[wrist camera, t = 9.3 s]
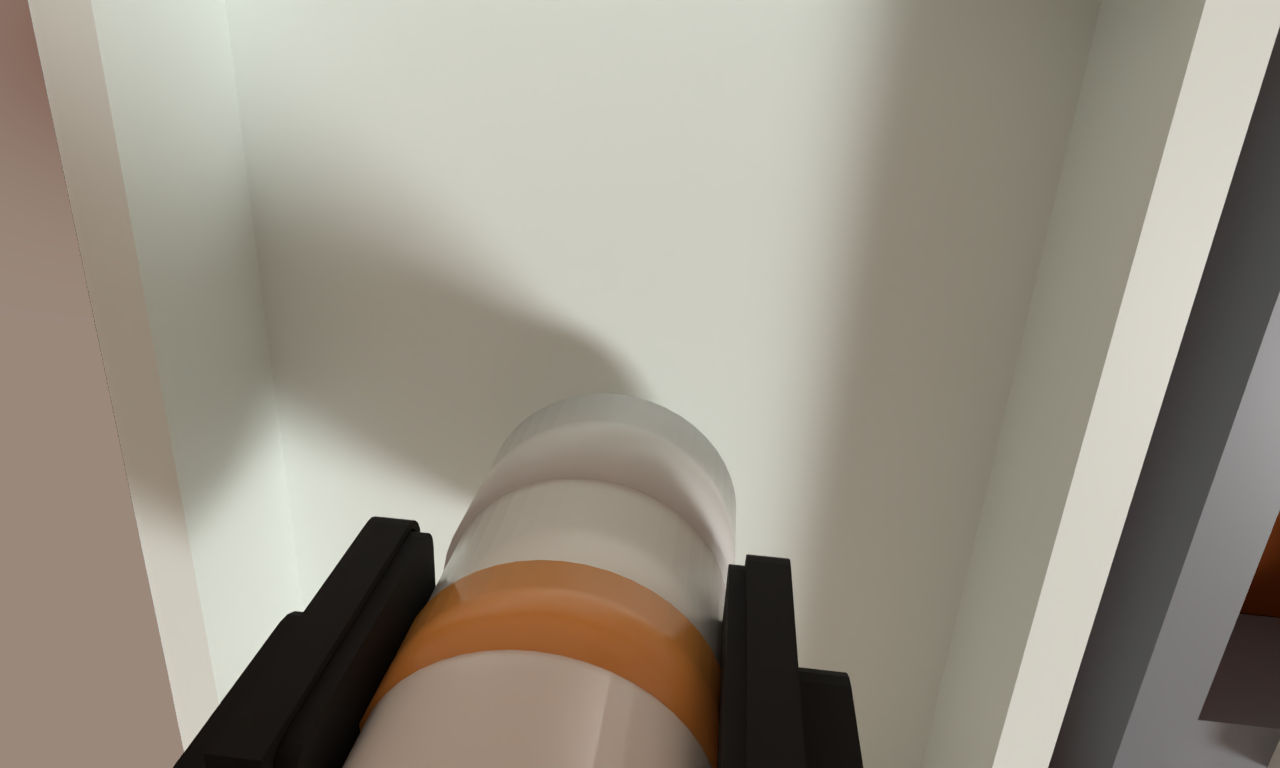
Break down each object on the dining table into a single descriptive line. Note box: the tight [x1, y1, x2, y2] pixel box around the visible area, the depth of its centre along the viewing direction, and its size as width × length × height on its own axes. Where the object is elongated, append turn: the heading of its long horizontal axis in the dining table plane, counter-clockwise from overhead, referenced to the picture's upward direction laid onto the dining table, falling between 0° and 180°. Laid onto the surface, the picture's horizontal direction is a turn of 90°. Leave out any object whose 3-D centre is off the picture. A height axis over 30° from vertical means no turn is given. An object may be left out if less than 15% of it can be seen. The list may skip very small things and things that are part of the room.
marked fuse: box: [342, 393, 736, 768], centre depth 10 cm, size 4×4×10 cm
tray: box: [28, 0, 1280, 768], centre depth 15 cm, size 18×14×4 cm
